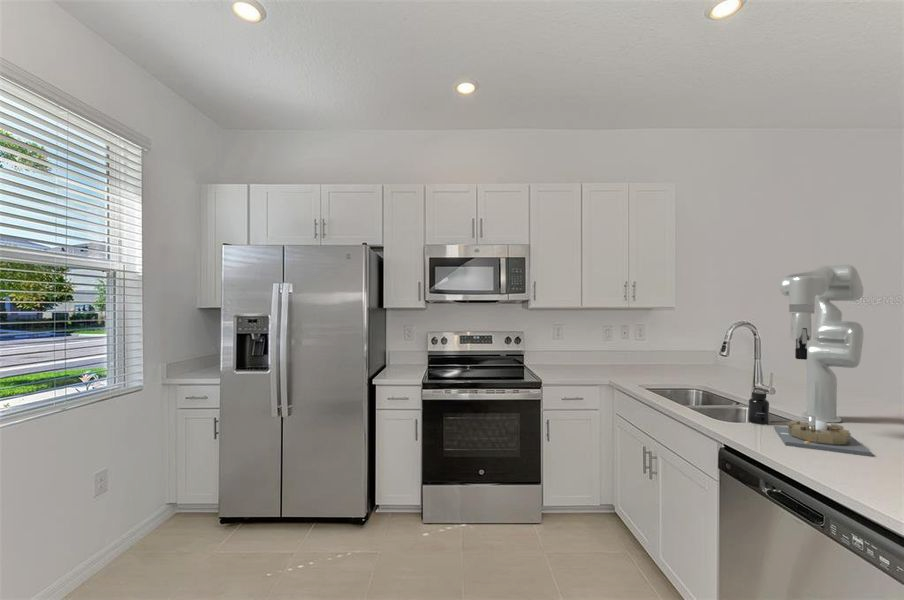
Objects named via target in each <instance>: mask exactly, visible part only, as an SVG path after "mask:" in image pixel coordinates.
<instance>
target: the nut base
mask: <svg viewBox="0 0 904 600" xmlns="http://www.w3.org/2000/svg"><path fill="white" fill-rule="evenodd" d="M827 425H828V422H826V421H822V420H816V430H819V429H820V430H827ZM773 429H775V430H774V431H775V433H776V434H777V435H778V437H779V439H781V441H782V443H783V444H784V446H787V447H795V448H803V449H810V450H818V451H825V452H826V451H827V452H834V453H842V454H848V455H849V454H850V455H857V456H865V457H873V453H872V451H871V450H870V449H868V448H867V447H866V446H864V445H863V444H862V443H861V442H860V441H858V440H857V439H856V438H855V437H854V436H852V435H851V434H850V443H848V444H846V445H832V444H824V443H816V442H812V441H807V440H803V439H800V438H797V437H794V436H791V434H790V433H789V426H788V427H787V426H776V425H774V426H773Z"/></svg>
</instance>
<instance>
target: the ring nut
mask: <svg viewBox="0 0 904 600" xmlns="http://www.w3.org/2000/svg"><path fill="white" fill-rule="evenodd" d="M788 427H789V433H790V434H791V436H794V437H797V438H800V439H803V440H807V441H812V442H816V443H824V444H832V445H846V444H848V443H850V435H851V432H850V430H847V429H844V426H842V425H839V424H836V423H835V424H833V423H832V424H830V425H828V424H827V430H820V429H819V430H816V417H815V416H808V419H807V422H806V421H800V420H797V419H796V420H795V419H792V420H790V422H789V423H788Z"/></svg>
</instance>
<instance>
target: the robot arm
mask: <svg viewBox="0 0 904 600" xmlns="http://www.w3.org/2000/svg"><path fill="white" fill-rule="evenodd" d="M779 291H780V293H781V295H784V296H786V297H788V300H789V301H788V314H791V315H790V329H789V330H790V331H789V338H790V339H791V340H793V341H795V349H794V351H795V353H794V354H795V359H796V360H805V363H806V412H805V411H804V412H802V413H801V416H802V417H803V418H805V419H806V420H808V416H815V417H816V420H822V421H826V422H827V423H832V424H833V423H835V424H836V423H840V422H842V418H841V417H839V416H837V407H838V406H837V401H838V398H837V397H838V396H837V395H838V394H837V392H838V389H837V387H838V379H837V375H836V374H835V372H834V371H833V370H832V369H831V368H830V367H835V368H845V369H847V368H848V369H854V368H857V367H858V366H859V365H860V363H861V359H862V352H863V351H862V350H863V344H864V343H863V342H864V329H863V325H861V324H860V323H858V321H857V322H856V321H847V320H845V321H844V320H842V317H843V313H842V311H841V309H840V308H839V307H838V306H836V305H835V304H834V303H832V302H833V301H835V302H836V301H837V302H839V301H840V302H841V301H843V302H849V301H850V302H855V301H860V299H861V298H862V297H864V286H863V283H862V280H861V277H860V274H859V272H858V270H857V269H856V267H854V266H853V265H850V264H838V265H821V266H818V267H815V268H814V269H812V270H807V271H802V272H797V273H791V274H788V275H786V276H784V277H783V278H782V279H781V281H780V283H779ZM815 313H816V314H815ZM812 314H813V315H814V314H815V320H814V324H813V325H814V326H813V330H812ZM812 336H813V339H814V340H815V342H814V341H813V342H810V343H809V342H808V341H811V340H812Z"/></svg>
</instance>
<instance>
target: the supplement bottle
mask: <svg viewBox="0 0 904 600" xmlns="http://www.w3.org/2000/svg"><path fill="white" fill-rule="evenodd" d="M747 405H748V408H747V409H748V412H747V421H748V422H749V423H752V424H754V425H755V424H756V425H762V426H764V425H765V424H767V425H769V420H770V414H769V413H770V402H769V400H767V393H766V392H762V391H752V392H751V397H750V398H749V399H748V404H747Z"/></svg>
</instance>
